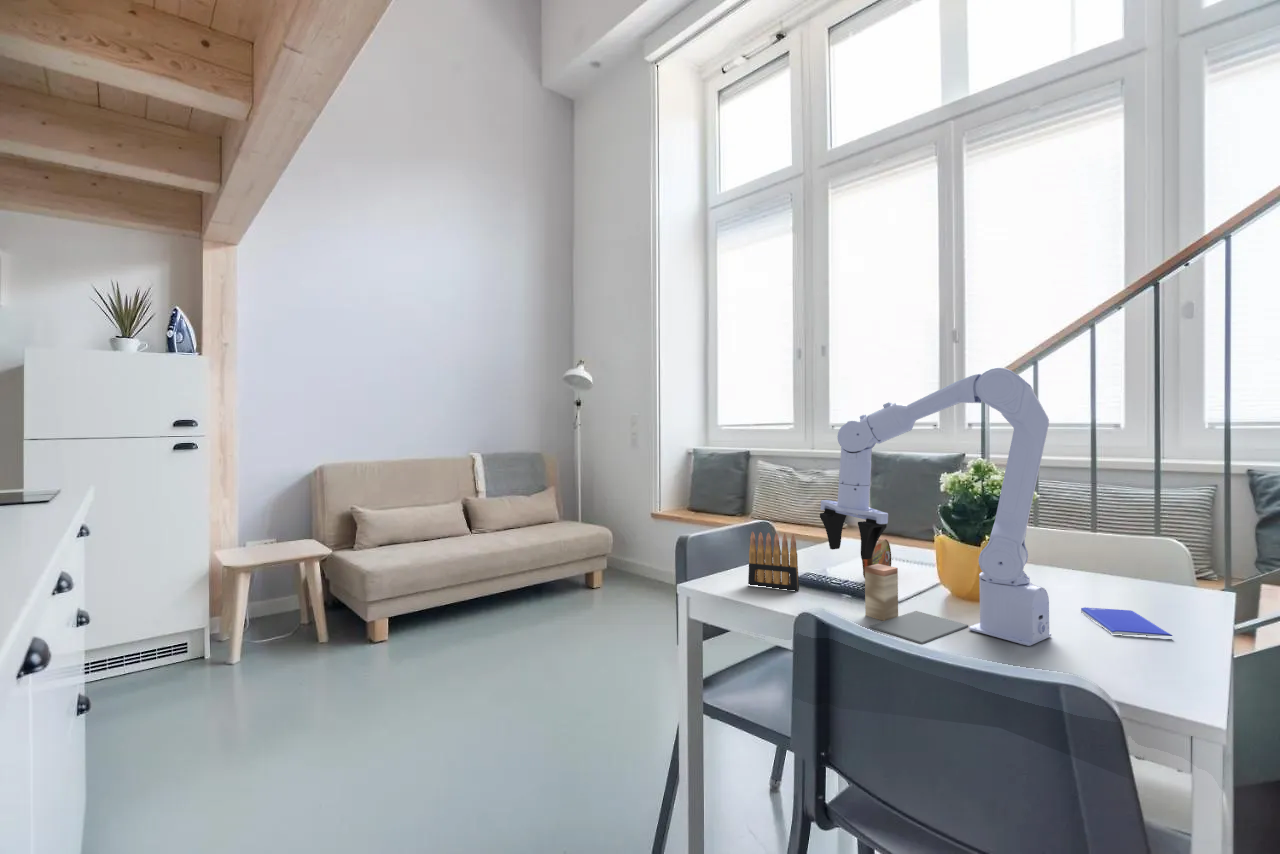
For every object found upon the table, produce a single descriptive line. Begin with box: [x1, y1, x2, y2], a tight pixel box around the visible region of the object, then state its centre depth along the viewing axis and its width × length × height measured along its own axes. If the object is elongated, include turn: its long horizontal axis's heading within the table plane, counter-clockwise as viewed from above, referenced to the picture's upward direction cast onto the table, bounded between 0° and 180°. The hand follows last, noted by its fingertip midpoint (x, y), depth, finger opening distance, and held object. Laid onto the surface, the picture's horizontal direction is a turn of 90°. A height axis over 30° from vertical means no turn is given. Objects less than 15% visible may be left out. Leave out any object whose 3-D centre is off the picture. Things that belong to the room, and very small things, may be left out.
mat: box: [869, 610, 969, 645], centre depth 103 cm, size 10×14×1 cm
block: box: [864, 564, 899, 622], centre depth 109 cm, size 4×4×9 cm
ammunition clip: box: [747, 531, 800, 592], centre depth 129 cm, size 11×2×12 cm, turn 65°
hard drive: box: [1080, 606, 1173, 636], centre depth 102 cm, size 2×8×12 cm
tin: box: [861, 538, 892, 579], centre depth 136 cm, size 15×3×8 cm, turn 143°
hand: (850, 553), depth 115 cm, fingers open, 7 cm apart
